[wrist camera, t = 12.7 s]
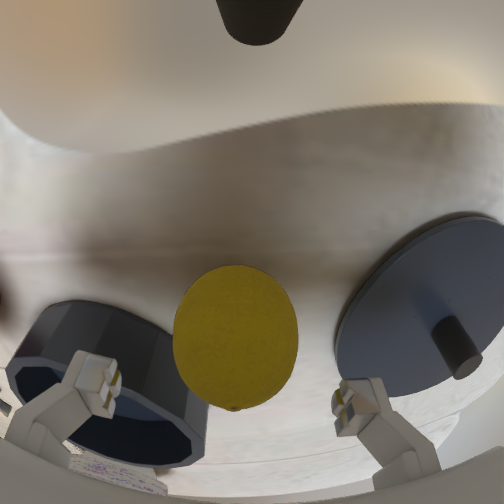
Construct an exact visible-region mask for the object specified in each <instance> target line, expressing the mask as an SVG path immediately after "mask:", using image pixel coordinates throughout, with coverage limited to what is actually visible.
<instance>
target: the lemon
mask: <svg viewBox="0 0 504 504" xmlns="http://www.w3.org/2000/svg"><path fill="white" fill-rule="evenodd" d="M297 351H298V326H297V318H296V314H295V311H294V308H293V306H292V304H291V302H290V300H289V297H288V295H287V293H286V292H285V291H284V289H283V288H282V287H281V286H280V285H279V284H278V283H277V282H276V280H274V279H273V278H272V277H271V276H269V275H267V274H266V273H264V272H263V271H261V270H258V269H255V268H252V267H250V266H243V265H229V266H223V267H220V268H217V269H213V270H211V271H209V272H207V273H206V274H204V275H203V276H201V277H200V278H198V279H197V280H196V281H195V282H194V284H193V285H192V286H191V287H190V288H189V289H188V290H187V292H186V293H185V295H184V297H183V299H182V301H181V303H180V305H179V308H178V310H177V312H176V315H175V319H174V327H173V354H174V359H175V363H176V366H177V369H178V371H179V374H180V376H181V378H182V380H183V381H184V383H185V384H186V385H187V386H188V388H189V389H190V390H191V391H192V392H193V393H194V394H196V395H197V396H198V397H200V398H201V399H202V400H204V401H205V402H208V403H210V404H212V405H214V406H217V407H220V408H224V409H226V410H228V411H232V412H235V411H240V410H241V409H247V408H251V407H254V406H257V405H259V404H262V403H264V402H266V401H267V400H269V399H270V398H272V397H273V396H274V395H276V394H277V393H278V392H279V391H280V390H281V389H282V388H283V386H284V385H285V384H286V382H287V381H288V379H289V378H290V376H291V373H292V371H293V368H294V364H295V361H296V357H297Z"/></svg>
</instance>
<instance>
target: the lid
mask: <svg viewBox="0 0 504 504" xmlns="http://www.w3.org/2000/svg"><path fill="white" fill-rule="evenodd" d="M503 326H504V226H503V225H502V224H500V223H499V222H497V221H495V220H492V219H490V218H485V217H464V218H459V219H454V220H451V221H449V222H446V223H443V224H440V225H438V226H436V227H434V228H432V229H430V230H428V231H426V232H424V233H423V234H421V235H420V236H418V237H416V238H415V239H413V240H412V241H410V242H409V243H408V244H406V245H405V246H404V247H402V248H401V249H400V250H399V251H397V252H396V253H395V254H394V255H393V256H391V257H390V258H389V259H388V260H387V261H386V262H385V263H384V264H383V265H382V266H381V267H380V268H379V269H378V270H377V271H376V272H375V273H374V274H373V275H372V276H371V278H370V279H369V280H368V281H367V282H366V284H365V285H364V286H363V287H362V289H361V290H360V291H359V293H358V294H357V295H356V297H355V299H354V300H353V302H352V303H351V305H350V307H349V308H348V310H347V312H346V314H345V316H344V318H343V320H342V322H341V325H340V328H339V331H338V334H337V339H336V345H335V358H336V363H337V367H338V371H339V373H340V375H341V377H342V379H350V378H366V377H367V378H371V377H380V378H381V379H382V381H383V384H384V387H385V390H386V393H387V395H388V398H389V397H399V396H405V395H409V394H413V393H417V392H420V391H423V390H425V389H428V388H430V387H433V386H435V385H437V384H439V383H441V382H443V381H445V380H446V379H448V378H450V377H451V376H453V378H454V379H456V380H460V379H463V378H465V377H467V376H469V375H470V374H471V373H473V372H474V371H475V370H476V369H477V368H478V367H479V365H480V364H481V362H482V359H483V357H482V354H481V353H482V352H483V351H484V350H485V349H486V348H487V346H488V345H489V344H490V343H491V342H492V341H493V339H494V338H495V337H496V336H497V334H498V333H499V332H500V330H501V329H502V327H503Z"/></svg>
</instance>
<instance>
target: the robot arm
mask: <svg viewBox="0 0 504 504" xmlns="http://www.w3.org/2000/svg"><path fill="white" fill-rule="evenodd" d="M117 366H118V363H117V361H116V359H113V358H109V357H105V356H101V355H97V354H92V353H89V352H85V351H81V350H78V351H77V352H76V353H75V354H74V356H73V358H72V360H71V362H70V365H69V367H68V369H67V371H66V373H65V375H64V378H63V380H62V382H61V384H60V383H56V384H55V385H53V386H52V387H50V388H49V389H48V390H46V391H45V392H43V393H42V394H40V395H39V396H37V397H36V398H34V399H33V400H31V401H30V402H28V403H27V404H25V405H24V406H22V407H21V408H19V409H18V410H16V411H15V413H14V416H13V418H12V420H11V423H10V425H9V428H8V430H7V432H6V435H5V438H4V439H3V438H1V437H0V504H240V503H219V502H207V501H197V500H188V499H181V498H175V497H168V496H163V495H158V494H152V493H148V492H143V491H138V490H134V489H130V488H126V487H122V486H118V485H115V484H111V483H108V482H104V481H101V480H98V479H95V478H92V477H89V476H86V475H83V474H80V473H77V472H74V471H72V470H69V469H68V467H69V463H70V459H71V456H72V454H71V452H70V451H69V450H68V449H67V448H66V447H65V446H64V445H63V444H62V442H64V441H65V440H66V439H67V438H68V437H69V436H70V435H71V434H72V433H73V432H74V431H75V430H77V429H78V428H79V427H80V426H81V425H82V424H83V423H84V422H85V421H86V420H87V419H88V418H90V417H91V416H92V414H93V415H97V416H101V417H105V418H110V419H112V418H113V414H114V411H115V407H116V403H115V400H114V398H116V397H117V396H119V394H120V391H121V385H122V376H121V373H120V371H119V370H118V369H117ZM339 386H340V388H339V389H337V390H335V392H334V394H333V395H332V400H331V408H332V413H333V414H334V415H335V416H336V417H337V419H336V420H335V422H334V424H335V429H336V434H337V437H344V436H356V435H358V436H357V437H358V439H359V440H360V441H361V442H362V443H363V445H364V446H365V447H366V448H367V449H368V451H369V452H370V453H371V454H372V455H373V457H374V458H375V459H376V460H377V461H378V462H379V464H380V465H381V466H382V467H383V468H382V469H381V470H379V471H378V472H376V473H375V474H374V475H373V476H372V478H373V484H374V489H375V491H372V492H367V493H362V494H357V495H352V496H346V497H340V498H333V499H325V500H318V501H307V502H296V503H275V504H504V447H502V446H497V447H494V448H492V449H490V450H488V451H486V452H484V453H482V454H480V455H478V456H476V457H474V458H471V459H469V460H467V461H465V462H462V463H460V464H457V465H455V466H453V467H450V468H448V469H445V470H441V467H440V463H439V460H438V457H437V454H436V451H435V448H434V445H433V443H432V442H430V441H429V440H428V439H427V438H426V437H425V436H424V435H422V434H421V433H420V432H419V431H418V430H417V429H416V428H415V427H413V426H412V425H411V424H410V423H409V422H408V421H407V420H406V419H404V418H403V417H402V416H401V415H400V414H399V413H398V412H397V411H393V410H392V407H391V404H390V401H389V398H388V395H387V393H386V390H385V387H384V384H383V381H382V379H381V378H380V377H371V378H367V377H366V378H350V379H343V380H341V382H340V384H339Z"/></svg>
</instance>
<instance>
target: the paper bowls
mask: <svg viewBox="0 0 504 504" xmlns="http://www.w3.org/2000/svg"><path fill="white" fill-rule="evenodd" d="M68 469H69V470H72V471H74V472H77V473H80V474H83V475H86V476H89V477H92V478H95V479H98V480H101V481H104V482H108V483H111V484H115V485H118V486H122V487H126V488H130V489H134V490H138V491H143V492H148V493H152V494H158V495H163V496H168V495H167V494H168V487H167V485H165V484H164V483H162V482H161V481H158V480H157V477H156V474H155V471H154V469H153V468H148V467H138V466H132V465H128V464H124V463H120V462H116V461H113V460H109V459H106V458H103V457H101V456H98V455H96V454H94V453H91V452H89V451H87V450H85V451H84V452H83V453H82V454H81V455H79V454H72V456H71V459H70V463H69V467H68Z"/></svg>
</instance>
